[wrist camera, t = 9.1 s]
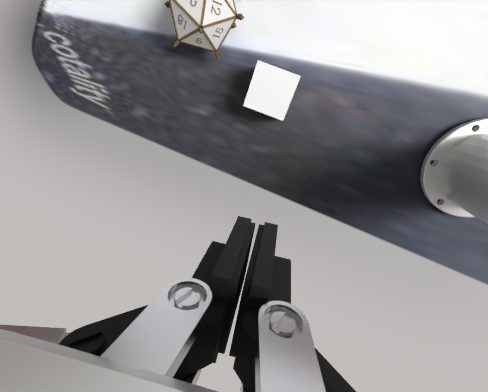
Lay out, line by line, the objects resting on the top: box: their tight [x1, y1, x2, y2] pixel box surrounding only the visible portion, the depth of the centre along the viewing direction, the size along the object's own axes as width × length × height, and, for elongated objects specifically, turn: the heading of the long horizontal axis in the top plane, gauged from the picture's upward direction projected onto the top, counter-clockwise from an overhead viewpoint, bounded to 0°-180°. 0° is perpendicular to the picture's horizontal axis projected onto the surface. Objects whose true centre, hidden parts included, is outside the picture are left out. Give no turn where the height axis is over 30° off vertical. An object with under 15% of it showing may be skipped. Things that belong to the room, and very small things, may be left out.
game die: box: [165, 0, 244, 59], centre depth 28 cm, size 9×8×10 cm
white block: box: [243, 60, 301, 121], centre depth 31 cm, size 5×5×5 cm
